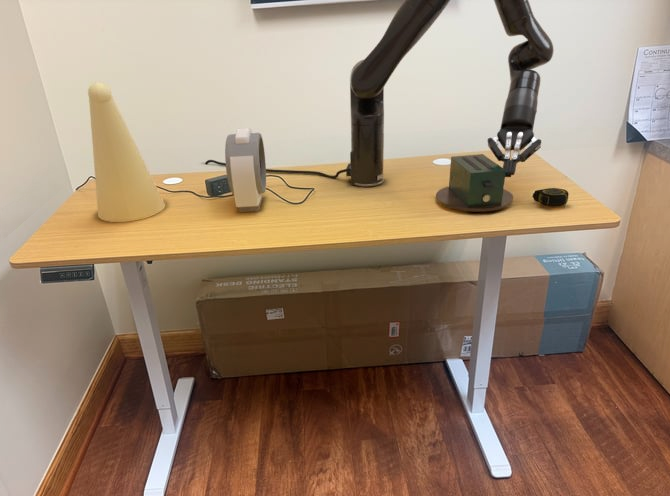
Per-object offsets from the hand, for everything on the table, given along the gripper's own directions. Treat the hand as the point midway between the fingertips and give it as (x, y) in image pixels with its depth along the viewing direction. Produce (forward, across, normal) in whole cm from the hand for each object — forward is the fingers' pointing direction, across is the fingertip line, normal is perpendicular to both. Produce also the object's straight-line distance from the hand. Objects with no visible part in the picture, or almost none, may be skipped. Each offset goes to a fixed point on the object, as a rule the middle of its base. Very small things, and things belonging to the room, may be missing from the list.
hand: (507, 175), depth 128 cm
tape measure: (+2, +10, +10) cm, 14 cm away
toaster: (+4, -8, +8) cm, 12 cm away
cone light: (+26, -93, -18) cm, 99 cm away
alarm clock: (+16, -64, -6) cm, 66 cm away
